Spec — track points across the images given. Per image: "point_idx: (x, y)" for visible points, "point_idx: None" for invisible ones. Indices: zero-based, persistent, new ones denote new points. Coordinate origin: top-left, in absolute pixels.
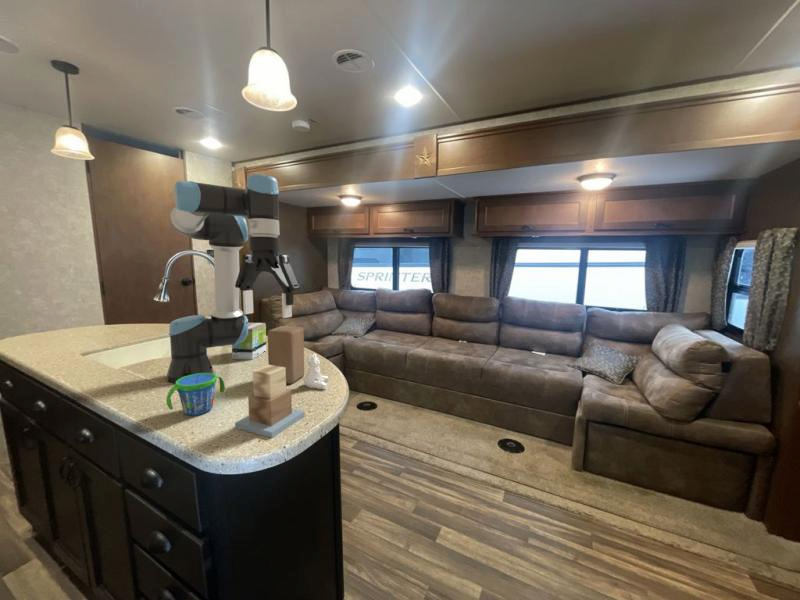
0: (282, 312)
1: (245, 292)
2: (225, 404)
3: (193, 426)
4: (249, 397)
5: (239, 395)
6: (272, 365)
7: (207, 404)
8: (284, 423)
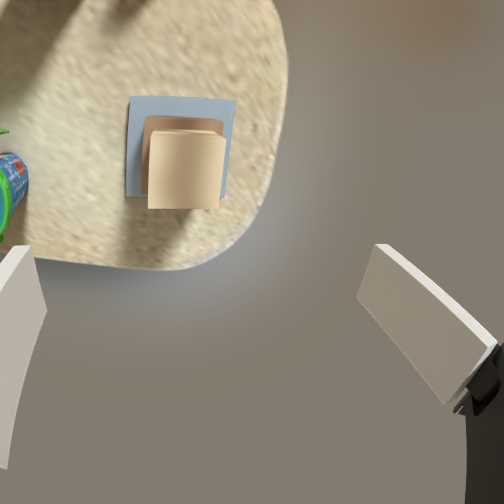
0: (373, 317)
1: (3, 451)
2: (27, 130)
3: (56, 222)
4: (145, 193)
5: (19, 82)
6: (167, 138)
7: (24, 182)
8: (225, 161)
